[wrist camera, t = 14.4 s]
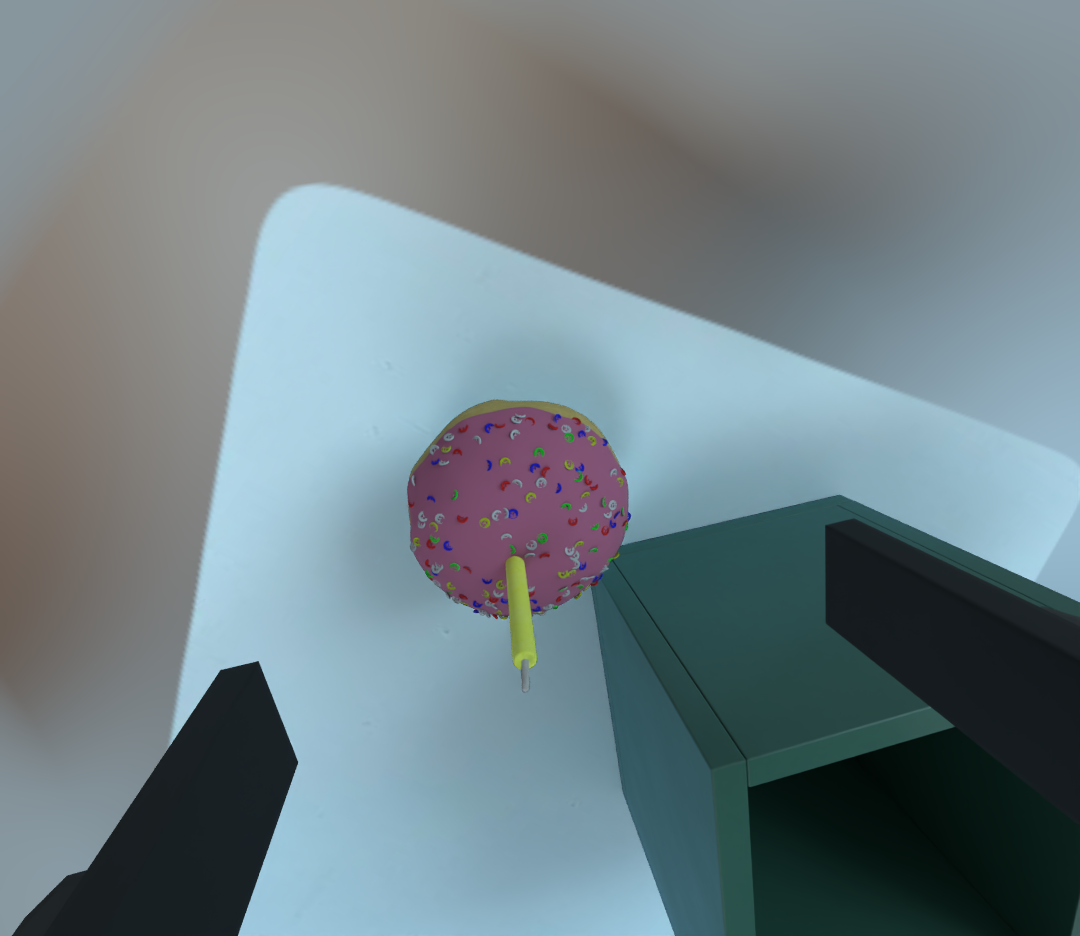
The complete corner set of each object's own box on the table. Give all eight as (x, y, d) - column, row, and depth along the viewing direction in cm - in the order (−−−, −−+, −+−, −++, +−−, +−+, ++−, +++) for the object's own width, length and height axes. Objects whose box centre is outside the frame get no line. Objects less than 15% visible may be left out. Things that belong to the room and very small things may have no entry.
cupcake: (555, 580, 26) (637, 787, 14) (387, 531, 24) (328, 729, 12) (624, 421, 24) (780, 514, 13) (450, 354, 22) (449, 391, 10)
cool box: (585, 553, 26) (711, 770, 13) (840, 494, 27) (1164, 639, 15) (622, 792, 30) (739, 1114, 18) (836, 730, 32) (1079, 989, 20)
